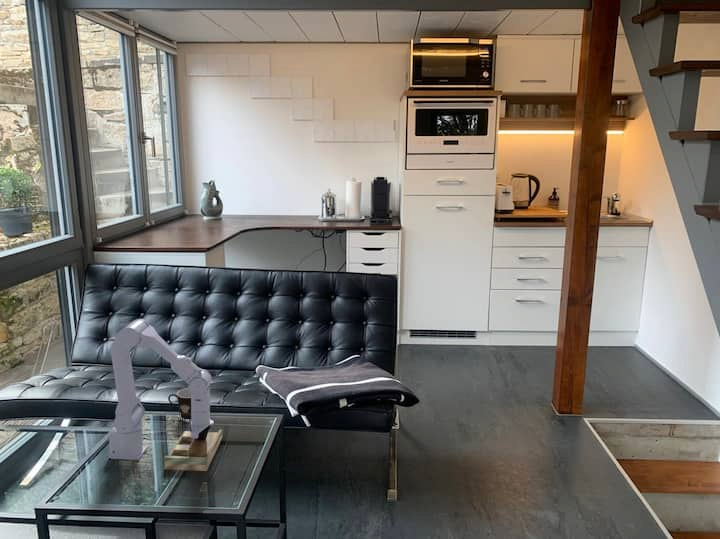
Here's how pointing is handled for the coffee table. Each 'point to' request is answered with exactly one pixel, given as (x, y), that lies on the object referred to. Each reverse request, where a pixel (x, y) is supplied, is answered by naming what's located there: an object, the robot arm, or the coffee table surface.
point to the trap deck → (181, 453)
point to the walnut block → (198, 448)
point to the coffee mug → (183, 402)
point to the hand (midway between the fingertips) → (200, 447)
